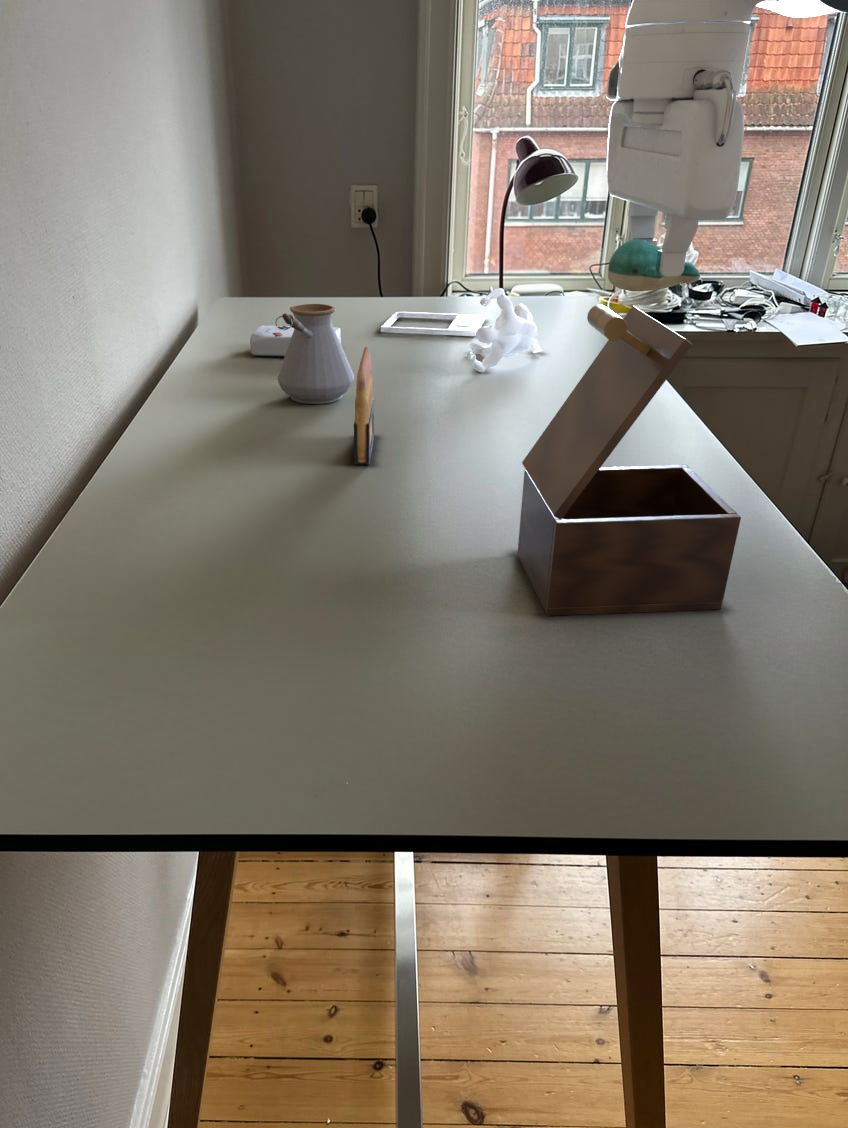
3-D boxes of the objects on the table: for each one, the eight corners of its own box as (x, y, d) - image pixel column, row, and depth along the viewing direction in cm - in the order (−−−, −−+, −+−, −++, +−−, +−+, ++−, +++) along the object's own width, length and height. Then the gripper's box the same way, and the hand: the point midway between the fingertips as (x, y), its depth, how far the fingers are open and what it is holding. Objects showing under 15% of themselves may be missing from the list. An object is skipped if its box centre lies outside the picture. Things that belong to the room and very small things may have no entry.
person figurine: (483, 284, 158) (484, 283, 141) (555, 303, 157) (565, 304, 141) (462, 361, 162) (461, 369, 146) (532, 379, 162) (539, 389, 145)
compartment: (671, 548, 92) (686, 464, 87) (721, 609, 81) (741, 517, 76) (517, 554, 91) (524, 469, 86) (546, 616, 80) (556, 523, 75)
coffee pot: (290, 384, 144) (285, 283, 136) (361, 388, 142) (360, 286, 134) (248, 426, 126) (239, 313, 118) (329, 431, 124) (326, 316, 116)
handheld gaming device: (261, 345, 167) (260, 323, 165) (341, 347, 165) (340, 325, 163) (248, 358, 159) (247, 335, 157) (332, 360, 157) (331, 337, 155)
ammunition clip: (369, 465, 113) (368, 366, 106) (354, 465, 113) (352, 366, 107) (374, 437, 122) (373, 344, 116) (360, 437, 122) (359, 344, 116)
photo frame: (475, 330, 170) (380, 325, 174) (474, 336, 171) (380, 331, 175) (485, 314, 183) (396, 310, 186) (484, 320, 183) (396, 316, 187)
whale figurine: (605, 281, 80) (610, 234, 78) (692, 282, 79) (699, 235, 77) (607, 294, 75) (613, 244, 73) (700, 295, 74) (709, 245, 72)
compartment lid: (639, 310, 79) (593, 277, 78) (693, 344, 69) (640, 307, 67) (528, 466, 86) (483, 439, 85) (561, 520, 75) (510, 490, 74)
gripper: (783, 68, 60) (742, 289, 67) (674, 74, 78) (651, 249, 85) (689, 69, 60) (658, 292, 67) (601, 75, 78) (584, 251, 85)
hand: (654, 267), depth 76 cm, fingers closed on whale figurine, 5 cm apart
